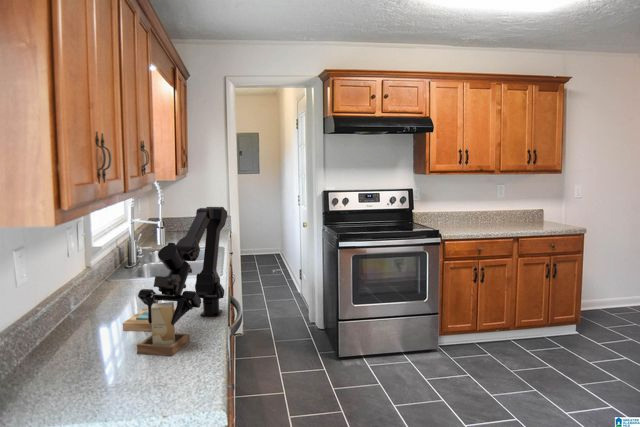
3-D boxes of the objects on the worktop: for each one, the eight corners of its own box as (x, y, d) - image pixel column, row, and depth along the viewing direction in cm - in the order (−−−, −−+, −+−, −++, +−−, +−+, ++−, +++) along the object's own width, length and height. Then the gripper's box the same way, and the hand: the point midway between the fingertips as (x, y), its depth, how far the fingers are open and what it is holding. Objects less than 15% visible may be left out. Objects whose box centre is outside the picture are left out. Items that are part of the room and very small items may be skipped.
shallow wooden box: (146, 313, 187) (146, 304, 186) (178, 314, 185) (178, 305, 185) (123, 330, 169) (122, 320, 169) (157, 331, 168) (157, 321, 167)
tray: (157, 339, 160) (156, 332, 159) (189, 342, 157) (189, 334, 157) (137, 353, 149) (136, 344, 149) (171, 355, 146) (171, 347, 146)
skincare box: (152, 347, 150) (149, 307, 149) (154, 342, 155) (151, 303, 153) (175, 345, 152) (172, 305, 150) (176, 340, 156) (173, 301, 154)
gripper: (139, 263, 156) (119, 309, 147) (195, 265, 152) (179, 312, 143) (154, 281, 165) (137, 326, 155) (207, 284, 161) (193, 330, 151)
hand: (160, 323), depth 151 cm, fingers closed on skincare box, 7 cm apart
